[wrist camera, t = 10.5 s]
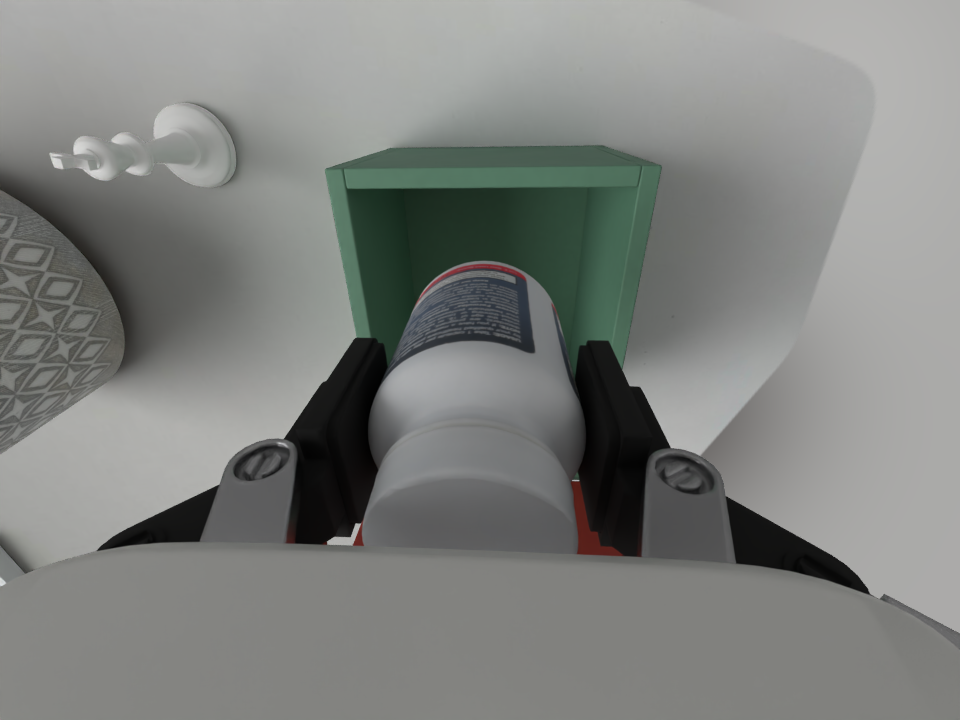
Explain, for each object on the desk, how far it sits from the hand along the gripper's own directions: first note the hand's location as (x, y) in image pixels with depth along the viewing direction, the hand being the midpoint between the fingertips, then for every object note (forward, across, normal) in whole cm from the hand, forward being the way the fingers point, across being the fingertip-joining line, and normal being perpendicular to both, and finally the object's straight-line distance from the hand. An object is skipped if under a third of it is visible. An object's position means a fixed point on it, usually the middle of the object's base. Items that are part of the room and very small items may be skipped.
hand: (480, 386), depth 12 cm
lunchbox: (+20, 0, +4) cm, 20 cm away
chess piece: (+20, +20, -5) cm, 28 cm away
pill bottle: (+4, 0, 0) cm, 4 cm away
